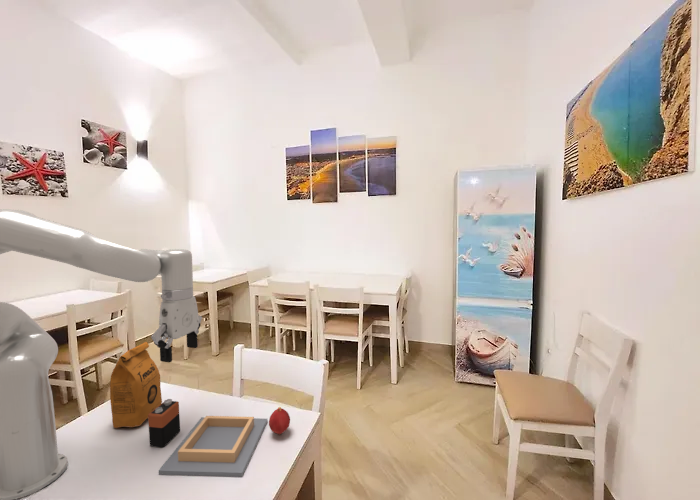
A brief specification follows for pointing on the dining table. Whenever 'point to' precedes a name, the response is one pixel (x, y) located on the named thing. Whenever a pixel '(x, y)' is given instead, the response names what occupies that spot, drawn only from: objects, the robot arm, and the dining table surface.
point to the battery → (164, 423)
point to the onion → (279, 421)
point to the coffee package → (134, 388)
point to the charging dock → (216, 447)
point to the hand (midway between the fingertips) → (180, 354)
